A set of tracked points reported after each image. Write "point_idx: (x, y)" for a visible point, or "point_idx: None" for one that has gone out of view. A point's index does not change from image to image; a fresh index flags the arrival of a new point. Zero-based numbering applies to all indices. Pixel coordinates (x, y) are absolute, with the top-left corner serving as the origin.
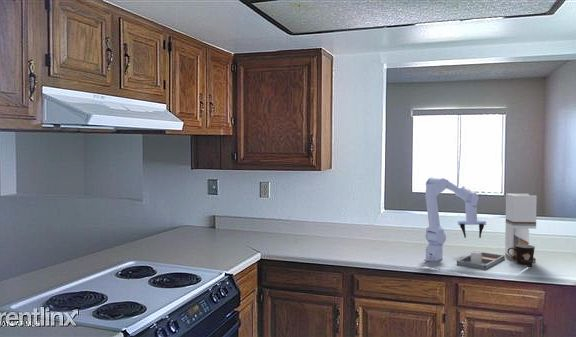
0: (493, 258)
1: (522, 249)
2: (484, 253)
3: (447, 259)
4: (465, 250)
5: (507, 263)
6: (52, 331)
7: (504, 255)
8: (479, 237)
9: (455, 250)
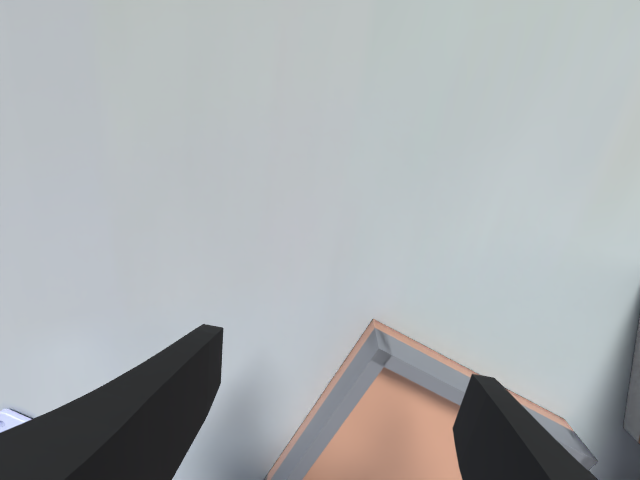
0: None
1: None
2: (434, 387)
3: None
4: (297, 26)
5: None
6: None
7: (596, 462)
8: (456, 437)
9: (182, 59)
